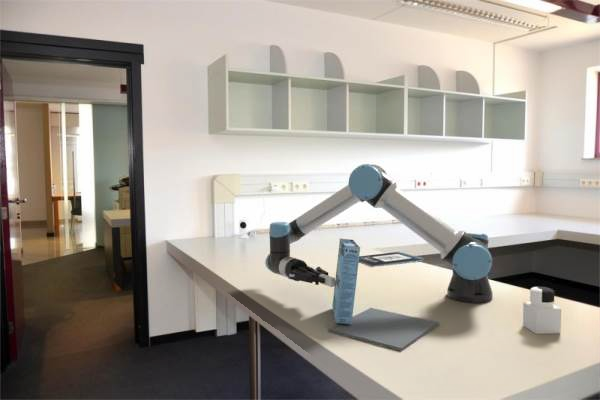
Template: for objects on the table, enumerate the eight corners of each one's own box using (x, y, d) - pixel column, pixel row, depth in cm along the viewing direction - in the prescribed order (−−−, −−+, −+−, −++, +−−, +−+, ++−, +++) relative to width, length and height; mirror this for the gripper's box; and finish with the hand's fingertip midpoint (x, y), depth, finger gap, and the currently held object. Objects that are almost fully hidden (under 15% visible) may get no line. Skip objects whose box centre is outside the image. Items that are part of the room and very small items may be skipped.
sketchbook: (349, 260, 231) (349, 256, 231) (398, 254, 242) (398, 250, 242) (371, 268, 211) (371, 263, 211) (424, 262, 223) (424, 257, 222)
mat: (438, 324, 133) (438, 322, 133) (401, 351, 115) (401, 348, 115) (370, 310, 148) (370, 307, 148) (327, 331, 129) (327, 328, 129)
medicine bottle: (546, 324, 132) (547, 284, 131) (561, 333, 125) (562, 291, 124) (522, 325, 132) (523, 285, 131) (535, 334, 125) (537, 291, 124)
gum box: (351, 325, 131) (361, 247, 130) (334, 323, 131) (343, 244, 130) (346, 307, 150) (354, 239, 149) (331, 305, 150) (339, 237, 150)
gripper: (309, 276, 165) (349, 291, 145) (278, 281, 158) (316, 297, 138) (308, 256, 164) (349, 267, 144) (277, 260, 157) (315, 273, 137)
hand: (333, 282), depth 141 cm, fingers closed
